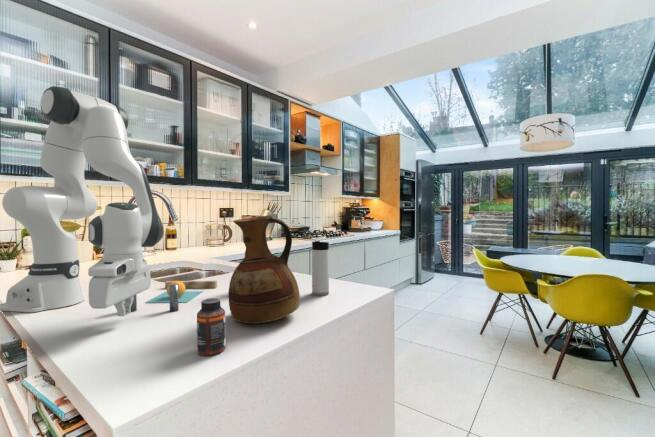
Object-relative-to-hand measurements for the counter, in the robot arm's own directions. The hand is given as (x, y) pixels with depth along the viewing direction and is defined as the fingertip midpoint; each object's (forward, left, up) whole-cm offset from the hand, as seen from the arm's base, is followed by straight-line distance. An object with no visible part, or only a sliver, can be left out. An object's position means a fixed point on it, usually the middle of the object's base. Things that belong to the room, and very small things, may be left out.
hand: (124, 314), depth 83 cm
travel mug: (+53, +31, -3) cm, 61 cm away
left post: (-6, +13, -3) cm, 15 cm away
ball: (+1, +27, 0) cm, 27 cm away
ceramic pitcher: (+37, +6, -4) cm, 37 cm away
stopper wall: (+1, +42, -3) cm, 42 cm away
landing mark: (+1, +28, -3) cm, 28 cm away
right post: (+7, +13, -3) cm, 15 cm away
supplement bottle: (+29, -15, -4) cm, 32 cm away
